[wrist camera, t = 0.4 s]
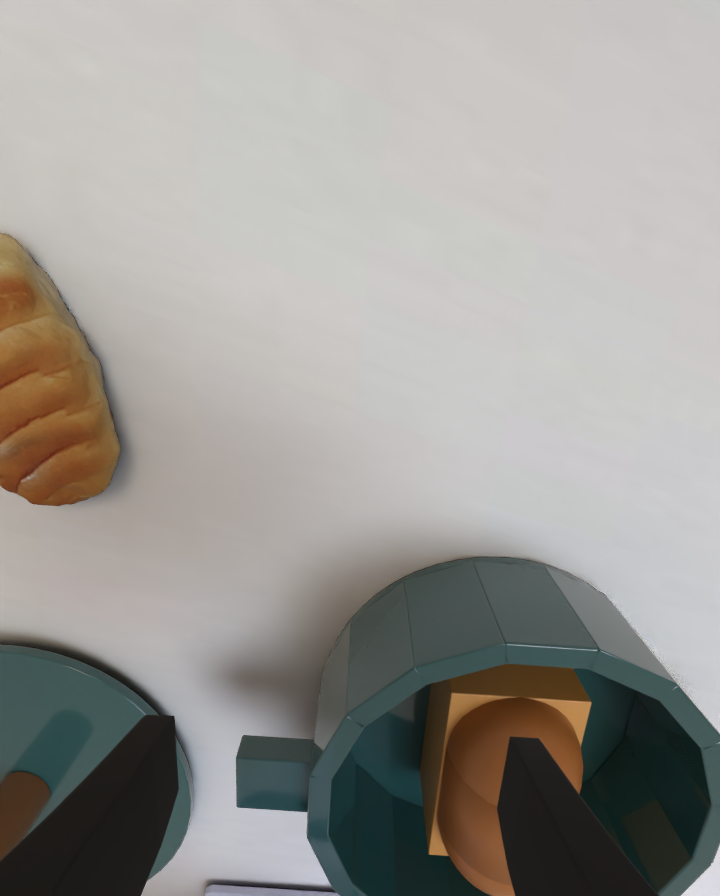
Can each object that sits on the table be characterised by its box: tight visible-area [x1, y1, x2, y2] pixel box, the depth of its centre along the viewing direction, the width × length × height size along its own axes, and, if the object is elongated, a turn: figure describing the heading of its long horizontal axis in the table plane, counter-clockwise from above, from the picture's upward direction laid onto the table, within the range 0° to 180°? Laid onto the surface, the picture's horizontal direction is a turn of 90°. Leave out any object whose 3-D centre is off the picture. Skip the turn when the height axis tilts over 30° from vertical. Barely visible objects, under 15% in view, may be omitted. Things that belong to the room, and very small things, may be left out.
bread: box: [420, 664, 591, 896], centre depth 19 cm, size 8×5×6 cm, turn 176°
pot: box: [236, 557, 720, 896], centre depth 19 cm, size 15×20×6 cm
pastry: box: [0, 233, 120, 506], centre depth 17 cm, size 9×7×4 cm
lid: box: [0, 645, 194, 880], centre depth 22 cm, size 16×16×5 cm
